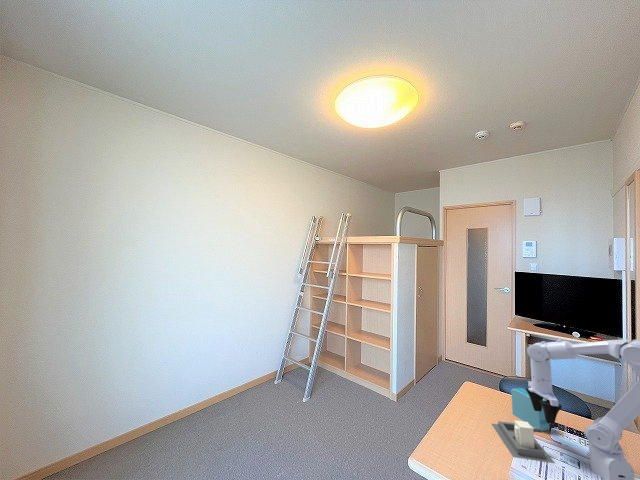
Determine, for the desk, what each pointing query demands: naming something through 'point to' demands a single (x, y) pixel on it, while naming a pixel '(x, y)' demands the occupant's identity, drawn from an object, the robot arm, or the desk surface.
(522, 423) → the plug
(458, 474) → the desk surface
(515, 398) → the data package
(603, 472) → the robot arm
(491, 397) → the desk surface
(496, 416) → the desk surface
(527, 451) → the jack panel
